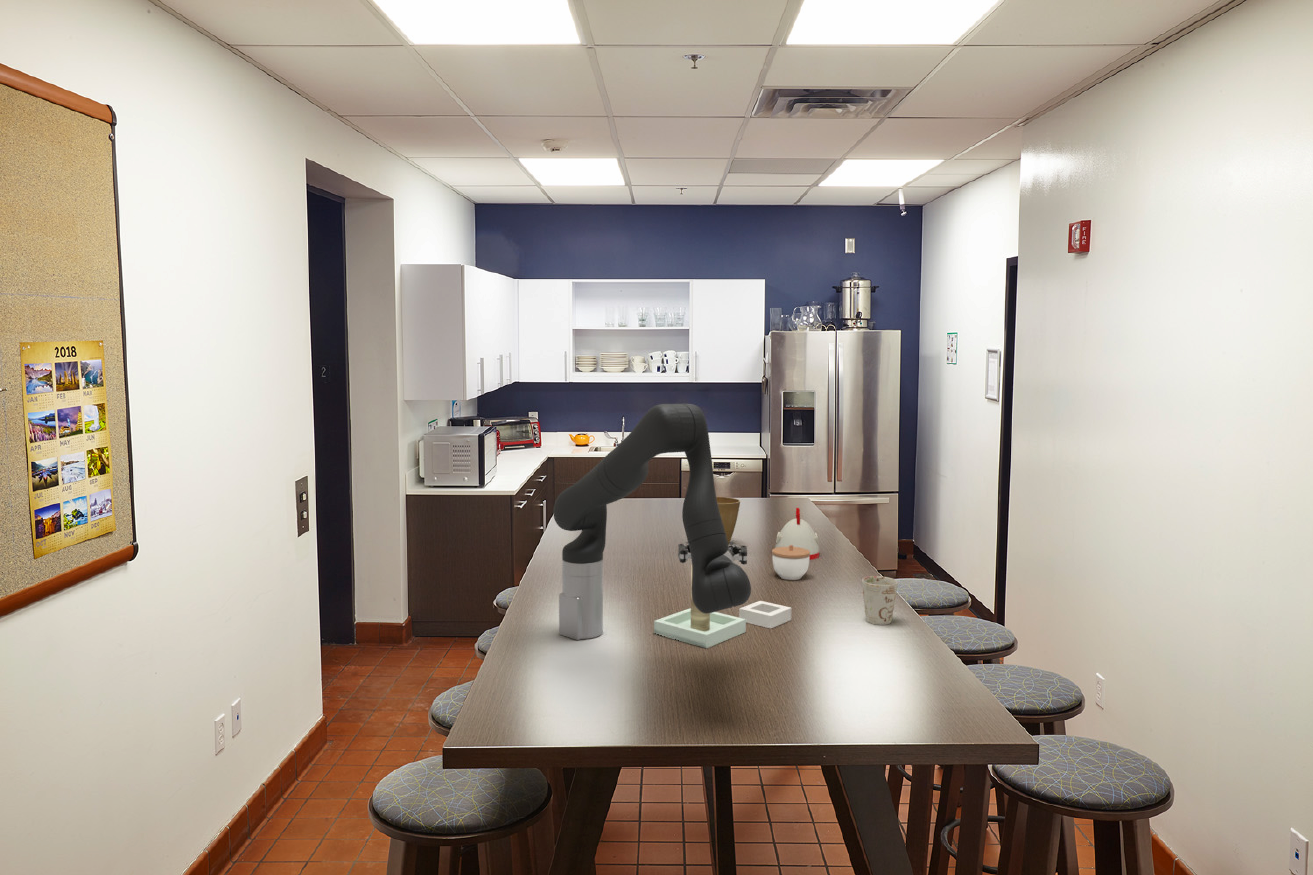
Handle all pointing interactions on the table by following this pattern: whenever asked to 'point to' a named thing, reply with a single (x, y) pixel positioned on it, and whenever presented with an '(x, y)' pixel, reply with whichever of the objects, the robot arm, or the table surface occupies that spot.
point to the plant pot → (728, 514)
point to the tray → (681, 630)
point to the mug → (879, 599)
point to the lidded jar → (790, 562)
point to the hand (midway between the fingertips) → (710, 545)
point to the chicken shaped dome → (799, 536)
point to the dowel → (698, 616)
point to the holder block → (765, 614)
